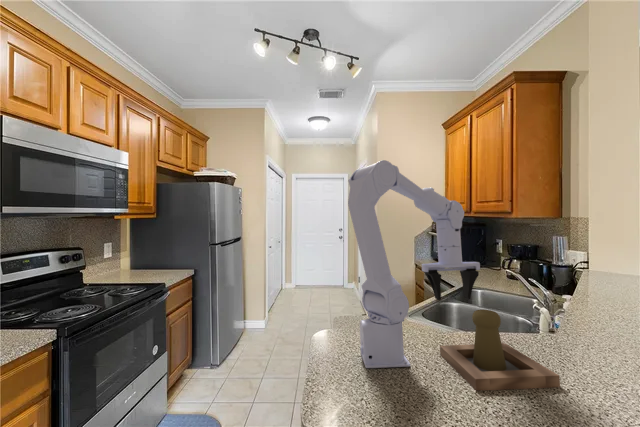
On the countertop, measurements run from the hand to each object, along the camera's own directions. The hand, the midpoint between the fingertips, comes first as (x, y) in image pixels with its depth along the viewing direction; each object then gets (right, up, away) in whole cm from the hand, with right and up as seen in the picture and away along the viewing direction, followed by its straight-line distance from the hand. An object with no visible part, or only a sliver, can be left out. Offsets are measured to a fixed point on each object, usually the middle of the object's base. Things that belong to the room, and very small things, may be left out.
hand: (452, 298), depth 75 cm
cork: (+1, -9, -15) cm, 18 cm away
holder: (0, -9, -17) cm, 19 cm away
